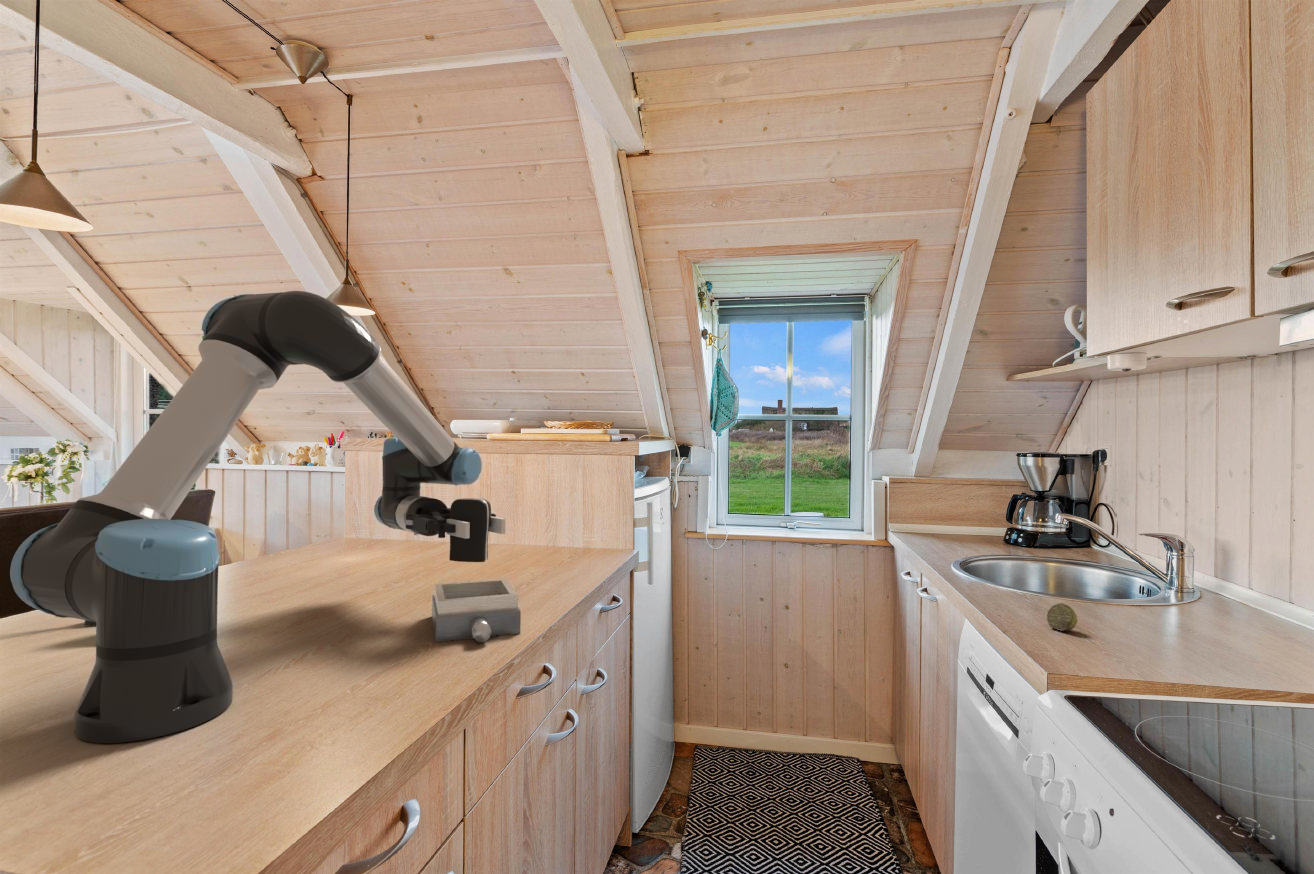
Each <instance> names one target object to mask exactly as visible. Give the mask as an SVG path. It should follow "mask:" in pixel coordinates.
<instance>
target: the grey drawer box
mask: <svg viewBox="0 0 1314 874" xmlns="http://www.w3.org/2000/svg"><path fill="white" fill-rule="evenodd" d="M433 587H434V591H433V593H434V594H433V595H432V596H431V598H432V599H431V619H433V620H432V626H433V632H434V638H435V643H444V642H452V641H451V640H454V641H462V640H461V639H464V640H471V638H473V640H474V641H476V642H477V643H484V642H485V643H486V641H488V640H489V639H490V638H491V637H490V636H493V637H496V636H495V635H502V636H506V635H505V634H512V635H519V634H518V633H520V634H521V618H522V617H521V615H522V613H521V612H522V610H521V608H519V603H518V601H519V595H518V593H517V592H516V590H515V589H514V587H513V586H512V585H511V583H510V581H508V579H507V578H499V579H498V578H497V579H484V580H482V579H481V580H471V581H456V582H442V583H440V582H439V583H434V586H433Z"/></svg>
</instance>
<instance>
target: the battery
mask: <svg viewBox="0 0 1314 874" xmlns="http://www.w3.org/2000/svg"><path fill="white" fill-rule="evenodd" d="M449 508H450V519H454V520H459V521H464V522H469V523H470V538H467V539H465V538H461V537H456V536H452V535H449V561H451V562H460V563H462V562H463V563H484V562H487V561H488V559H489V551H488V542H489V527H490V526H491V514H492V507H491V503H490V502H489V500H488V499H486V498H471V497H470V498H469V497H468V498H466V497H463V498H456V499H454V501H452V503H451V505H450V507H449Z"/></svg>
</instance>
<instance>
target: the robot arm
mask: <svg viewBox="0 0 1314 874" xmlns="http://www.w3.org/2000/svg"><path fill="white" fill-rule="evenodd" d="M201 331H203V335H202V336H201V338H202V340H201V342H200V343H199V344H198V352H199V354H200V357H201V361H200V362H199V364H198V365H197V366H196V368H195V369H194V370H193V371H192V373H191V374H190V376H189V377H188V378H187V379H186V380H185V382H184V383H183V385H182V386H181V387H180V388H179V390H178V391H177V392H176V394H175V395H174V396H173V398H172V399H171V401H170V402H169V403H167V405H166V407H165V408H164V409H163V411H162V412H161V413H160V415H159V416H158V417H157V418H156V420H155V421H154V422H153V424H152V425H151V426H150V428H149V429H148V430H147V432H146V433H145V434H144V435H143V437H142V438H141V439H140V440H139V442H138V443H137V445H136V446H135V447H134V449H133V450H132V451H131V452H130V453H129V455H128V456H127V458H125V460H124V462H122V464H121V466H120V467H119V468H118V469H117V471H115V473H114V475H113V476H112V477H111V478H110V480H109V481H108V483H107V484H106V485H105V487H103V489H102V490H101V491H100V492H98V493H97V494H93V495H89V496H85V497H80V498H78V499H77V500H76V502H74V504H73V505H72V507H70V509H69V510H68V512H67V513H66V514H65V515H64V517H63V518H62V519H61V520H60V522H58V523H57V522H56V523H54V524H50V525H48V526H46V527H44V528H40V529H39V530H37V531H35V532H34V533H32V534H31V535H29V536H28V537H27V538H26V539H25V540H23V542H22V543H21V544H20V545H19V547H18V548H17V550H16V551H15V553H14V555H13V557H12V560H11V563H10V568H9V569H10V570H9V576H10V582H11V584H12V587H13V591H14V592H15V594H16V595H17V597H19V599H20V600H21V601H23V602H24V603H25V604H26V605H28V606H29V607H32V608H33V609H36V610H38V611H40V612H43V613H45V614H49V615H52V616H55V617H56V618H63V619H65V618H70V619H78V620H84V621H85V620H88V621H93V622H96V626H95V627H96V629H95V630H96V631H95V632H96V633H95V648H96V649H95V664H94V666H93V668H92V671H91V673H90V675H89V678H88V680H87V683H86V685H85V687H84V690H83V692H82V695H81V698H80V699H79V703H78V705H77V708H76V709H75V714H74V735H75V737H76V738H77V739H79V740H81V741H85V742H89V743H94V744H95V743H96V744H120V743H130V742H137V741H143V740H150V739H154V738H159V737H163V736H168V735H170V734H175V733H178V732H182V731H184V730H187V729H190V728H192V727H196V726H198V725H200V724H203V723H205V722H207V721H210V720H212V719H213V718H216V717H218V716H219V715H220V714H223V713H224V712H225V711H226V710H227V709H228V708H229V707H230V706H231V704H232V703H233V700H234V699H233V697H234V696H233V694H234V693H233V692H234V691H233V687H234V685H233V680H232V677H231V676H230V673H229V670H228V668H227V665H226V663H225V660H224V657H223V655H222V653H221V650H220V648H219V645H218V644H219V643H218V602H219V601H218V599H219V597H218V595H219V594H218V591H219V565H220V564H219V563H220V562H221V554H220V552H219V551H220V550H219V543H218V535H217V534H216V532H215V530H213V528H211V527H210V526H208V525H206V524H203V523H200V522H197V521H193V520H191V521H190V520H184V519H172V518H173V516H175V514H176V512H177V510H178V509H179V507H180V506H181V505H182V503H183V502H184V500H185V499H186V497H187V496H188V494H189V493H190V491H191V490H192V488H193V487H194V486H195V484H196V483H197V481H198V480H199V478H200V476H201V475H202V474H203V472H204V471H205V469H206V468H207V466H208V465H209V464H210V462H211V461H212V459H213V457H214V456H215V455H216V453H217V452H218V450H219V449H220V447H221V446H222V444H223V443H224V441H225V440H226V439H227V437H228V435H229V434H231V433H230V432H231V431H232V430H233V429H234V427H235V425H236V424H237V422H238V421H239V420H240V418H241V417H242V415H243V414H244V412H245V411H246V409H247V407H248V406H249V404H250V403H251V402H252V401H253V399H254V398H255V396H256V394H258V391H259V390H264V389H266V390H267V389H271V388H273V387H274V386H275V385H276V384H277V383H278V381H279V380H280V378H281V376H282V375H283V374H284V372H285V371H286V370H287V368H288V367H289V366H290V365H291V366H293V365H294V366H295V365H306V366H311V367H314V368H317V369H318V370H320V371H322V372H323V373H324V374H325V375H326V376H327V377H328V378H329V379H330V380H331V381H333V382H335V383H343V384H344V385H345V386H346V387H347V388H348V389H349V390H350V392H352V393H353V394H354V396H356V397H357V399H359V401H360V402H362V403H363V404H364V406H366V408H368V409H369V411H370V412H371V413H372V414H373V415H374V416H375V417H376V418H377V419H378V420H379V421H380V422H381V423H382V424H383V425H384V426H385V427H386V428H387V429H388V430H389V431H390V432H391V433H392V434H393V435H394V436H395V437H387V438H385V440H384V441H383V446H382V447H383V449H382V450H383V451H382V456H381V460H382V490H381V495H380V496H379V497H378V498H377V500H376V501H375V504H374V507H373V509H374V510H373V513H374V516H375V518H376V520H377V521H378V522H379V523H380V524H381V525H384V526H386V527H388V528H391V529H394V530H402V531H406V532H410V533H413V535H414V536H416V537H417V536H419V535H421V536H424V537H434V536H438V537H437V538H439V539H444V538H446V535H448V536H450V535H452V536H456V537H461V538H465V539H467V538H470V523H469V522H464V521H459V520H454V519H450V508H451V507H447V505H446V504H445V503H444V501H442V500H440V499H438V498H433V497H428V496H422V495H421V487H422V486H421V484H434V485H435V484H439V485H451V486H452V485H453V486H459V485H460V486H466V485H467V486H468V485H472V484H474V483H475V482H476V481H477V480H479V478H480V477H479V476H480V474H481V473H482V468H483V466H482V465H483V462H482V458H481V455H480V453H479V452H478V451H477V450H476V449H474V448H469V447H467V446H466V447H465V446H463V447H460V446H459V445H458V444H457V443H456V442H455V440H454V439H453V438H452V437H451V435H450V434H449V433H448V432H447V431H446V429H445V428H444V427H443V426H442V425H441V424H440V423H439V422H438V420H437V419H436V418H435V417H434V416H433V414H432V413H430V411H429V410H428V409H427V408H426V406H424V404H423V403H422V401H420V399H419V398H418V397H417V396H416V394H415V393H414V392H413V391H412V390H411V388H409V386H407V384H406V383H405V382H404V381H403V380H402V378H401V377H400V376H399V375H398V374H397V373H396V372H395V370H394V369H393V368H392V367H391V366H390V364H389V363H388V362H387V361H386V360H385V359H384V358H383V356H382V355H381V352H382V348H381V347H382V346H381V345H380V344H379V343H378V341H377V340H376V338H375V337H373V336H372V334H371V333H370V332H369V331H368V330H367V329H366V328H365V327H364V326H363V325H362V324H361V323H360V322H359V321H358V320H357V319H356V318H355V317H353V316H352V315H351V314H350V313H348V312H347V311H346V310H345V309H343V308H342V307H340V306H339V305H338V304H336V303H334V302H333V301H331V300H329V299H327V298H325V297H323V296H321V295H319V294H315V293H313V292H309V291H302V290H289V291H288V290H287V291H284V292H283V291H282V292H268V293H256V294H255V293H254V294H253V293H246V294H238V295H235V296H233V297H229V298H225V299H223V300H220V301H218V302H217V303H215V304H214V305H213V306H212V307H210V308H209V310H208V311H207V312H206V314H205V316H204V318H203V320H202V324H201ZM489 532H490V533H494V534H495V533H496V534H500V535H504V534H506V518H503V517H498V516H497V514H496V513H491V526H490V527H489Z"/></svg>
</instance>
